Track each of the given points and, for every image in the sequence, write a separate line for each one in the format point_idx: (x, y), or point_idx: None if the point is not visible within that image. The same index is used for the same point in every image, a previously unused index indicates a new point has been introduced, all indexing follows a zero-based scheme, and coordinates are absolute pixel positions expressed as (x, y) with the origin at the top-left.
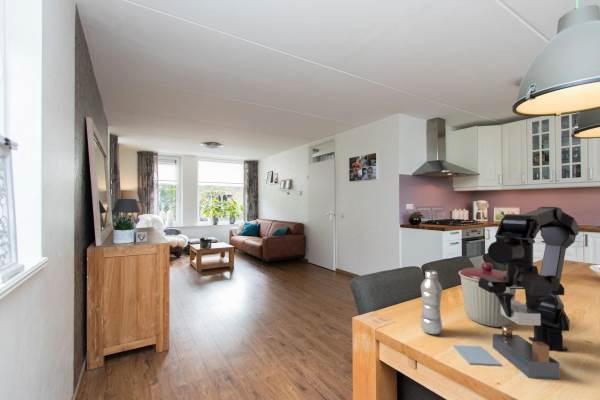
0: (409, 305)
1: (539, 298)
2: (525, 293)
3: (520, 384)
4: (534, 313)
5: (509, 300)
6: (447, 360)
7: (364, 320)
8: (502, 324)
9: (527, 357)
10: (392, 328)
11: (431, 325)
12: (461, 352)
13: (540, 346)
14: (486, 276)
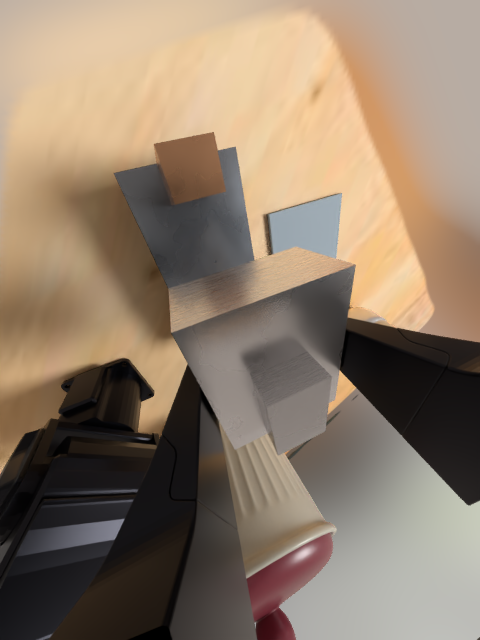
0: (330, 404)
1: (164, 600)
2: (244, 572)
3: (258, 101)
4: (224, 318)
5: (455, 358)
6: (375, 197)
7: (426, 313)
8: None
9: (226, 187)
10: (400, 304)
11: (374, 313)
12: (334, 246)
13: (202, 135)
14: (297, 578)
